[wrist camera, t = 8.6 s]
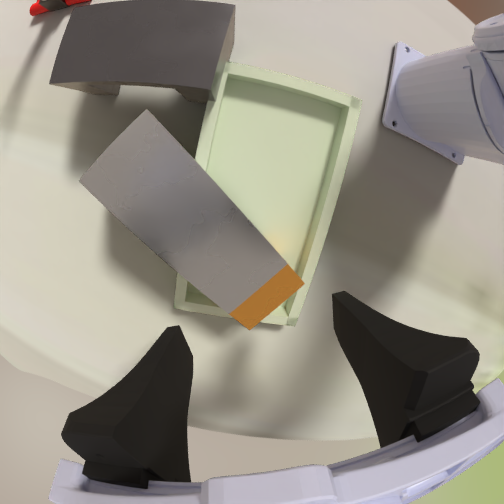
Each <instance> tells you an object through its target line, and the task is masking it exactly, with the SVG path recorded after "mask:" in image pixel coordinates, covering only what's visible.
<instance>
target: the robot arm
mask: <svg viewBox="0 0 504 504" xmlns="http://www.w3.org/2000/svg"><path fill="white" fill-rule="evenodd" d="M472 40H473V42H474V44H475V45H471V46H466V47H461V48H457V49H453V50H449V51H445V52H441V53H437V54H433V55H430V56H425V55H423V54H422V53H420V52H418V51H417V50H415V49H413V48H412V47H410V46H408V45H407V44H405V43H403V42H397V43H396V44H395V51H394V58H393V64H392V70H391V76H390V82H389V88H388V93H387V98H386V103H385V108H384V113H383V118H382V123H383V125H384V126H385V127H387V128H389V129H391V130H393V131H396V132H398V133H400V134H402V135H404V136H406V137H408V138H410V139H412V140H414V141H416V142H418V143H420V144H422V145H424V146H426V147H428V148H430V149H432V150H433V151H435V152H437V153H439V154H441V155H442V156H444V157H446V158H448V159H449V160H451V161H453V162H454V163H456V164H459V165H462V163H463V161H464V156H469V157H473V158H478V159H482V160H487V161H491V162H495V163H499V164H502V165H504V13H503V14H500V15H497V16H494V17H491V18H489V19H487V20H485V21H483V22H481V23H479V24H477V25H476V26H475V28H474V34H473V36H472ZM405 48H406V49H407V52H406V50H405ZM393 121H394V122H395V126H393V125H392V122H393ZM452 153H453V157H452ZM332 301H333V321H334V330H335V333H336V335H337V338H338V341H339V343H340V346H341V348H342V349H343V351H344V353H345V355H346V357H347V359H348V361H349V363H350V365H351V366H352V368H353V370H354V372H355V374H356V376H357V378H358V380H359V382H360V384H361V386H362V389H363V392H364V394H365V397H366V400H367V403H368V406H369V409H370V412H371V415H372V418H373V421H374V425H375V428H376V431H377V435H378V439H379V443H380V447H381V448H380V449H377V450H375V451H372V452H369V453H367V454H363V455H360V456H357V457H355V458H351V459H348V460H345V461H341V462H338V463H334V464H330V465H327V466H324V465H314V464H312V465H304V466H297V467H292V468H286V469H281V470H275V471H268V472H261V473H253V474H243V475H233V476H221V477H214V478H210V479H208V480H206V481H204V482H198V483H197V482H195V483H193V482H191V478H190V470H189V460H188V443H187V416H188V407H189V400H190V393H191V386H192V378H193V355H192V353H191V351H190V348H189V346H188V344H187V342H186V339H185V337H184V335H183V333H182V330H181V328H180V326H179V325H178V326H172V327H167V328H166V330H165V331H164V332H163V333H162V334H161V336H160V337H159V338H158V340H157V341H156V342H155V343H154V345H153V346H152V347H151V348H150V350H149V351H148V352H147V353H146V355H145V356H144V357H143V358H142V359H141V360H140V361H139V363H138V364H137V365H136V366H135V367H134V368H133V369H132V370H131V371H130V372H129V373H128V374H127V375H126V376H125V377H124V378H123V379H122V380H121V381H120V382H118V383H117V384H116V385H115V386H113V387H112V388H111V389H110V390H108V391H107V392H106V393H104V394H103V395H102V396H100V397H99V398H97V399H95V400H94V401H93V402H91V403H89V404H87V405H86V406H83V407H81V408H79V409H77V410H75V411H73V412H71V413H70V414H69V416H68V418H67V420H66V423H65V426H64V428H63V431H62V433H61V436H62V439H63V440H64V442H65V443H66V444H67V445H68V446H69V447H70V448H71V449H72V450H74V451H75V452H76V453H77V454H78V455H80V456H81V457H82V458H83V459H84V460H86V461H85V464H84V465H82V464H80V463H77V462H73V461H69V460H65V459H60V462H59V464H58V467H57V471H56V474H55V477H54V481H53V484H52V487H51V491H50V494H49V500H50V501H51V502H53V503H55V504H408V503H410V502H412V501H414V500H416V499H418V498H420V497H422V496H424V495H426V494H428V493H430V492H431V491H433V490H435V489H436V488H438V487H440V486H441V485H443V484H445V483H447V482H448V481H450V480H451V479H453V478H454V477H456V476H458V475H459V474H461V473H462V472H464V471H465V470H466V469H468V468H469V467H471V466H472V465H474V464H475V463H476V462H478V461H479V460H481V459H482V458H483V457H485V456H486V455H487V454H489V453H490V452H491V451H493V450H494V449H495V448H496V447H498V446H499V445H500V444H501V443H502V442H503V441H504V385H503V383H502V382H501V381H500V380H499V378H497V379H495V380H493V381H492V382H491V383H489V384H488V385H486V386H485V387H483V388H482V389H481V390H479V391H478V393H477V394H476V395H475V393H474V392H473V391H472V389H473V388H474V385H473V383H472V382H471V381H470V380H471V378H472V376H473V374H474V372H475V370H476V367H477V365H478V362H479V356H480V354H479V352H478V350H477V349H476V348H475V347H474V346H473V345H472V344H471V342H470V341H469V340H468V339H467V338H459V337H449V336H443V335H438V334H433V333H429V332H425V331H422V330H418V329H415V328H412V327H409V326H406V325H404V324H402V323H399V322H397V321H395V320H392V319H390V318H388V317H386V316H384V315H383V314H381V313H379V312H377V311H375V310H374V309H372V308H370V307H369V306H367V305H365V304H364V303H362V302H361V301H359V300H358V299H356V298H355V297H353V296H352V295H350V294H349V293H347V292H345V291H342V292H338V293H334V294H332Z"/></svg>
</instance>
